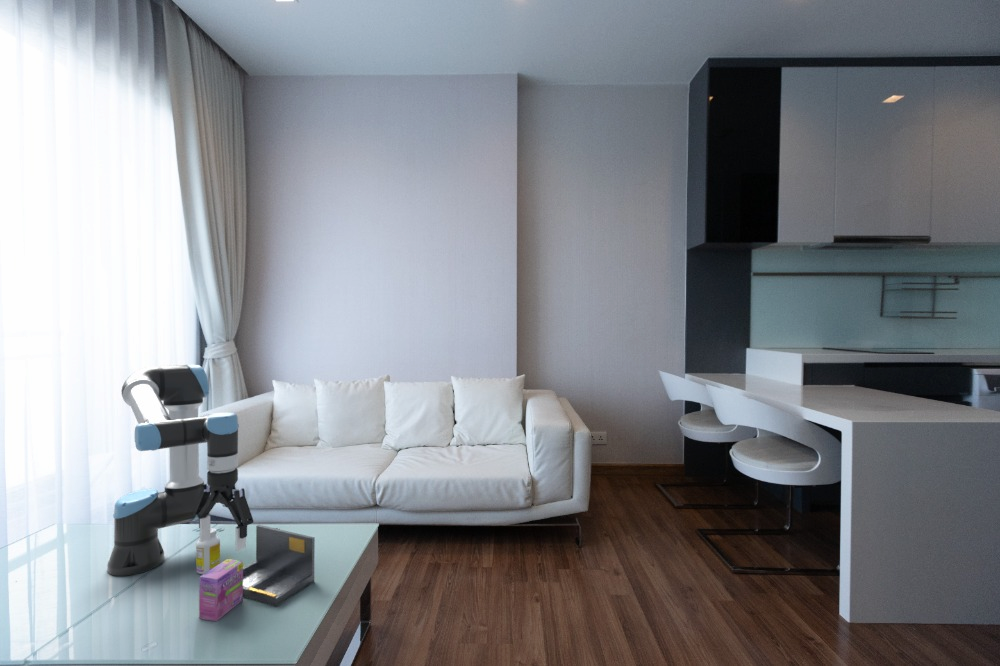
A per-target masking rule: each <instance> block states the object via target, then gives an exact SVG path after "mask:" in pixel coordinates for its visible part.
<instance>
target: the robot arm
mask: <svg viewBox="0 0 1000 666" xmlns="http://www.w3.org/2000/svg"><path fill="white" fill-rule="evenodd" d="M209 393H210V385H209V380H208V376H207V373H206V371H205V369H204V368H203V367H202V366H201V365H199V364H180V365H178V364H177V365H160V366H156V365H155V366H148V367H144V368H141V369H139V370H137V371H135V372H133V373H132V374H131V375H129V377H127V379H126V380H125V381H124V382H123V385H122V387H121V396H122V400H123V401H124V403H125V404H126V405H127V406H129V407H130V408H131V409H132V413H133V414H134V417H135V419H136V423H137V425H136V426H135V427H134V442H135V443H134V444H135V448H136V449H137V451H138V452H139V451H140V452H145V451H157V450H163V449H169V480H168V481H167V482H166V483H165V484H164V491H162V492H161V491H160V492H159V491H158V490H157V489H156V488H148V489H147V488H144V489H140V490H136V491H135V490H134V491H133V492H130V493H127V494H125V495H123V496H122V497H120V498H119V499H117V500H116V501H115V504H114V509H113V515H112V516H113V519H114V520H113V521H114V523H113V525H114V530H113V531H114V533H113V534H114V535H113V538H114V541H113V543H114V544H113V548H112V551H111V553H110V556H109V560H108V561H107V569H106V570H107V573H108V574H109V575H112V576H114V577H115V576H116V577H117V576H118V577H124V576H133V575H137V574H142V573H145V572H147V571H150V570H152V569H154V568H157V567H158V566H160V565H161V564H162V563H163V562H164V560H165V551H164V548H163V545H162V544H161V541H160V538H159V530H160V529H164V528H168V527H172V526H176V525H179V524H180V525H181V524H185V523H192V522H194V521H197V520H198V528H199V539H200V542H203V541H206V540H208V539H210V528H211V515H210V512H211V511H212V509H213V508H214V507H215V506H216V504H221V505H224V507H226V508H227V509H228V510H229V512H230V514H231V515H232V518H233V520H234V521H235V523H236V525H237V526H235V551H236V552H239V551H241V550H243V549H245V548H246V547H247V543H246V542H247V541H246V540H247V537H248V526H249V525H251V524H253V523H254V519H253V516H252V511H251V510H250V507H249V503H248V501H247V498H246V493H245V492H246V491H245V488H243V487H241V488H239V489H237V488H236V483H237V482H238V480H239V469H238V466H239V427H240V426H239V420H238V419H239V418H238V415H237V414H236V413H235V412H214V413H206V414H202V415H201V416H199V407H201V405H203V404H204V398H207V397H208V396H209ZM167 410H168V411H167ZM204 443H206V447H207V449H206V451H207V454H206V455H207V462H206V463H207V468H206V470H208V471H207V473H206V478H207V479H206V483H205V479H204V478H202V477H201V476H200V466H199V465H200V459H199V456H200V452H199V450H200V449H199V444H204Z"/></svg>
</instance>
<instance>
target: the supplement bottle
mask: <svg viewBox="0 0 1000 666" xmlns="http://www.w3.org/2000/svg"><path fill="white" fill-rule="evenodd" d="M195 548H196V550H195V551H196V552H195V554H196V555H195V558H196V561H195V562H196V565H195V566H196V572H197V573H198V574H199V575H203V574H205V573H206V572H208V571H209V570H211V569H212V568H214V567H215V566H217V565H218V564H220V563H221V539H220V537H219V536H218V535H217V528H215V527H210V539H208V540H206V541H203V542H200V538H199V539H198V540H197V541H196V544H195Z"/></svg>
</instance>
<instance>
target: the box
mask: <svg viewBox="0 0 1000 666" xmlns="http://www.w3.org/2000/svg"><path fill="white" fill-rule="evenodd" d="M243 568H244V561H242V560H237V559H230V558H226V559H225V560H223V561H222V562H221V561H220V564H218V565H217V566H215V567H214V568H212V569H211V570H209V571H208V572H206V573H205V574H201V575H200V576H199V591H198V592H199V593H198V594H199V600H198V601H199V603H198V605H199V607H198V611H199V612H198V613H199V614H198V618H199V619H202V620H206V621H211V622H217V621H218V620H220V619H221V618H222V617H224V616H225V615H227V613H228V612H230V611H232V609H234V608H235V607H236V606H237V605H239V604H240V603H241V602H242V601H243V600H244V597H243Z"/></svg>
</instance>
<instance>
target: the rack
mask: <svg viewBox="0 0 1000 666" xmlns="http://www.w3.org/2000/svg"><path fill="white" fill-rule="evenodd" d="M255 529H256V531H255V533H256V537H255V539H256V540H255V541H256V545H255V547H256V548H255V552H256V553H255V555H256V556H255V559H256V560H254V561H253V562H251V563H250V564H249V563H248V564H247V565H245V566H243V598H245V599H249V600H251V601H252V600H253V601H256V602H259V603H262V604H265V605H269V606H271V607H272V606H273V607H276V608H278V607H279V606H281V605H282V604H284V603H285V602H287V601H288V600H289V599H291V598H292V597H294V596H296V595H297V594H298V593H300V592H301V591H304V589H306V588H308V587H309V586H310V585H312V584H314V583H315V543H316V541H315V537H314V536H310V535H306V534H305V535H304V534H301V533H297V532H292V531H289V530H283V529H279V528H275V527H270V526H267V525H261V524H258V525H256V528H255Z"/></svg>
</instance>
